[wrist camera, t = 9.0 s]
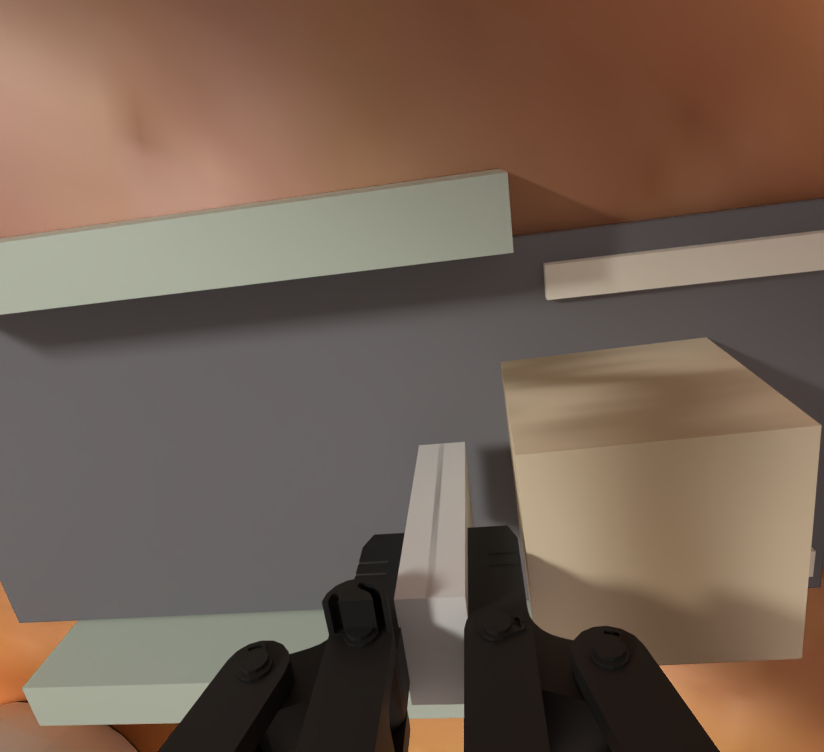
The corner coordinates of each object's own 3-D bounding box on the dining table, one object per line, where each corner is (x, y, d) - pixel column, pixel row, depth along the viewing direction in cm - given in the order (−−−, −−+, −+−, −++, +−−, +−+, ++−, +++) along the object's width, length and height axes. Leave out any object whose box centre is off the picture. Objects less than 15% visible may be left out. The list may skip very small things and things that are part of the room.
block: (519, 526, 20) (539, 671, 14) (500, 361, 18) (515, 455, 12) (704, 511, 19) (801, 658, 14) (706, 337, 17) (821, 425, 12)
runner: (26, 615, 24) (12, 630, 23) (-110, 313, 20) (-132, 320, 19) (813, 579, 20) (826, 595, 19) (860, 193, 16) (878, 195, 15)
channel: (96, 649, 24) (39, 725, 21) (-67, 248, 19) (-180, 267, 15) (536, 633, 22) (548, 716, 19) (499, 168, 16) (507, 172, 13)
